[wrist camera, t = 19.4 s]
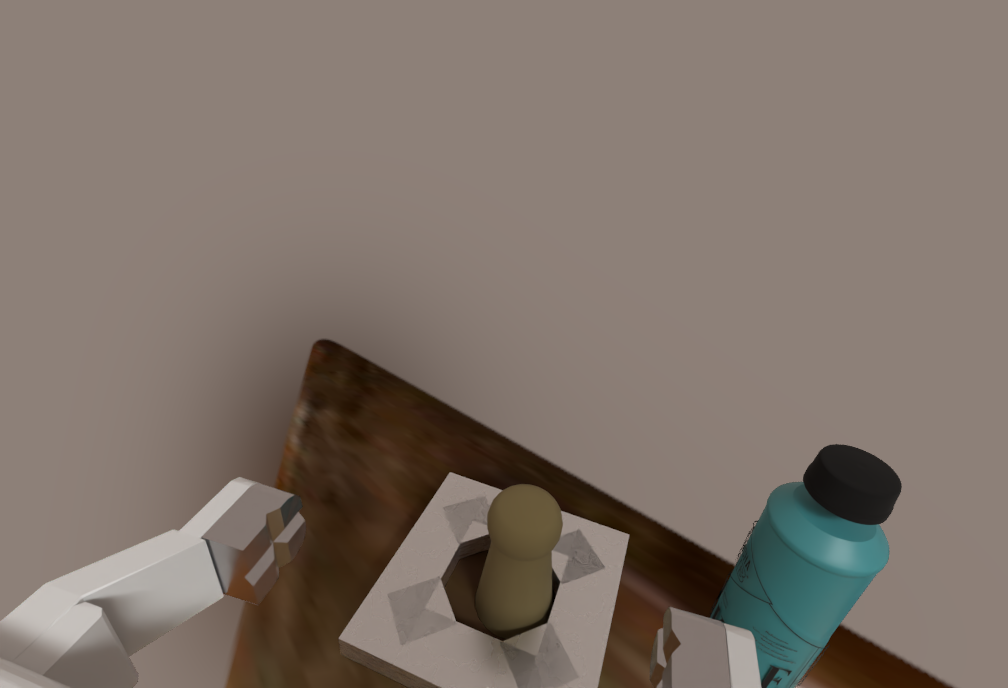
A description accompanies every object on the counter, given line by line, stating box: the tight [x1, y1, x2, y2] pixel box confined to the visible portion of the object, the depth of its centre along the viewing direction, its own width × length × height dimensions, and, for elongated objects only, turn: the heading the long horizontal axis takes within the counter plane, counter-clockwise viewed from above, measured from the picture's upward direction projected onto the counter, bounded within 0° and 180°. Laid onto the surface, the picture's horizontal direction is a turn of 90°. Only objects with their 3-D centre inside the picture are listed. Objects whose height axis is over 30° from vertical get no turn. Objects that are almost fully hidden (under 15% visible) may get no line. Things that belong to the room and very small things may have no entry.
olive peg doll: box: [475, 484, 563, 639], centre depth 37 cm, size 6×6×11 cm
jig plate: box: [338, 472, 629, 688], centre depth 40 cm, size 17×17×2 cm
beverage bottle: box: [708, 444, 901, 688], centre depth 32 cm, size 6×7×20 cm
